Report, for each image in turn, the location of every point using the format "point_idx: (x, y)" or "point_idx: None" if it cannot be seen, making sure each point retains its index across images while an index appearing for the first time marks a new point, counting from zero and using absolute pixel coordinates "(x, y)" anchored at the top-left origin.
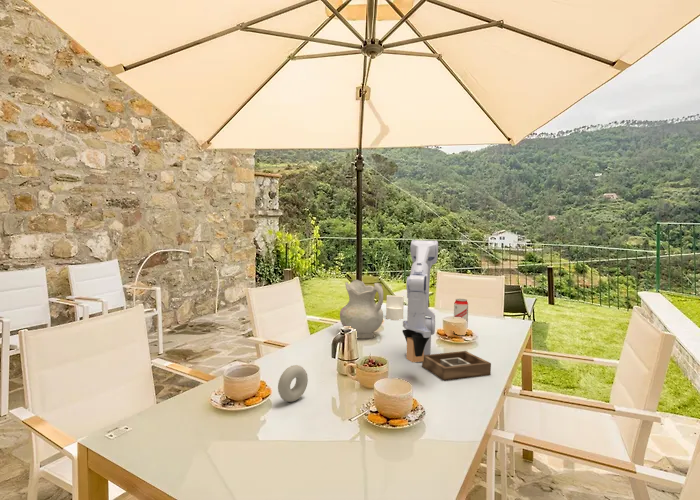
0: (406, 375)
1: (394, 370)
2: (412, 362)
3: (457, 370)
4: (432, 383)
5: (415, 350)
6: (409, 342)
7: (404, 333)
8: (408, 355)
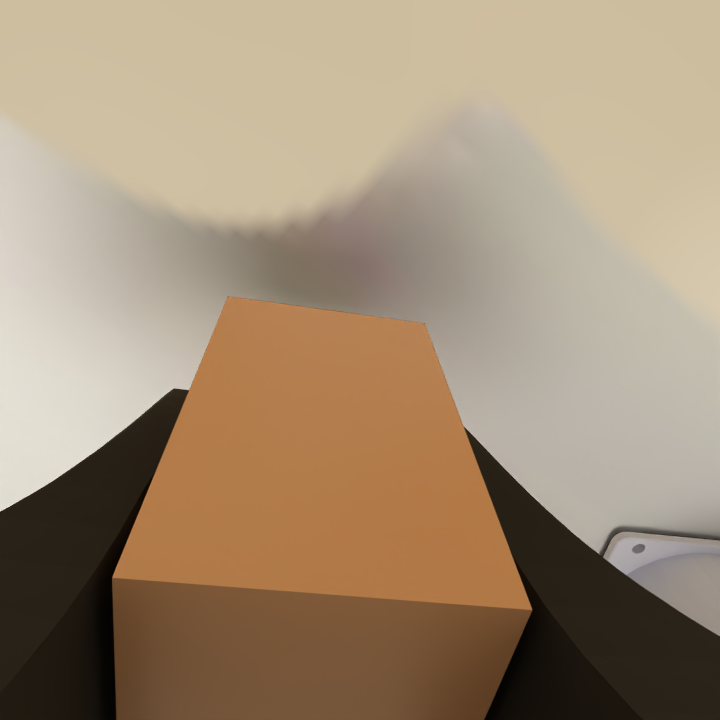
0: (420, 268)
1: (604, 241)
2: (230, 297)
3: None
4: (131, 365)
5: (135, 434)
6: (355, 509)
7: (711, 693)
8: (368, 345)
